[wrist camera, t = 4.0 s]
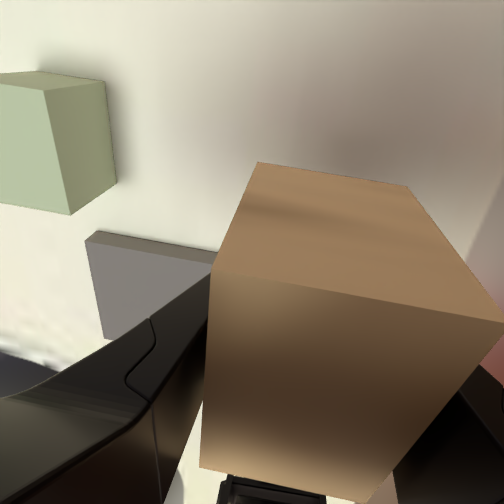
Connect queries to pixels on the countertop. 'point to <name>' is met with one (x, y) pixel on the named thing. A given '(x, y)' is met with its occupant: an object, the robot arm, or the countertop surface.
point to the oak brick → (334, 332)
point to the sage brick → (54, 141)
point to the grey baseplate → (139, 277)
